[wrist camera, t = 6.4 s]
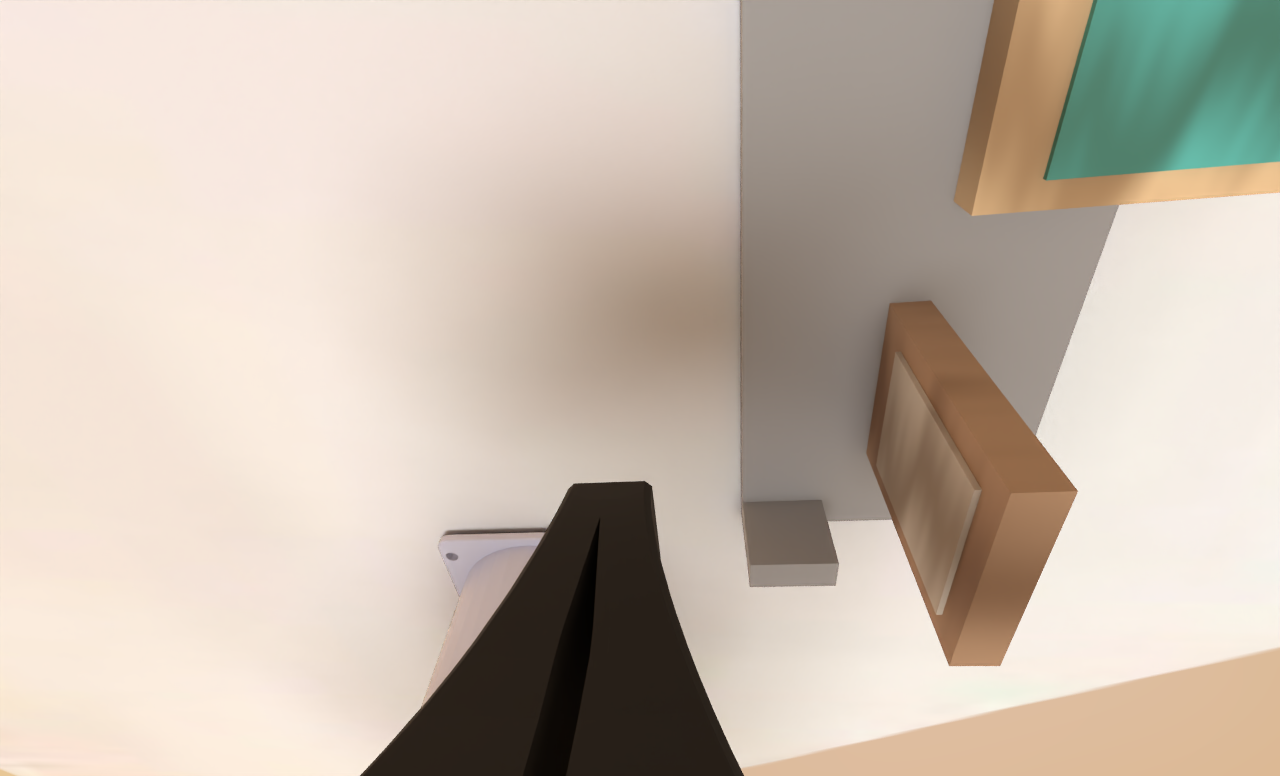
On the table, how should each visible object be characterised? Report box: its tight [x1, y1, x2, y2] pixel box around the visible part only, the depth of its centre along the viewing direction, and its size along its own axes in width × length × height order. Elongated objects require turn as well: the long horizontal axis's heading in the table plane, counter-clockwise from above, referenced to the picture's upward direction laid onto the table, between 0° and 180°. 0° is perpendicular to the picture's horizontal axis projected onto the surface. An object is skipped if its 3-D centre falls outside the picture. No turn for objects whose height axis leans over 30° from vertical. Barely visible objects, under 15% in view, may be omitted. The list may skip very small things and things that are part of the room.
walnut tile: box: [866, 301, 1078, 666], centre depth 16 cm, size 6×1×8 cm, turn 6°
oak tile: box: [954, 0, 1280, 216], centre depth 13 cm, size 6×1×8 cm
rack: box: [741, 0, 1119, 587], centre depth 16 cm, size 22×10×4 cm, turn 6°
